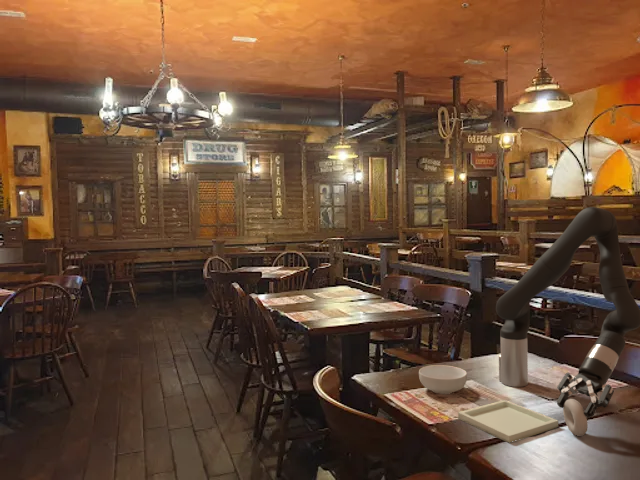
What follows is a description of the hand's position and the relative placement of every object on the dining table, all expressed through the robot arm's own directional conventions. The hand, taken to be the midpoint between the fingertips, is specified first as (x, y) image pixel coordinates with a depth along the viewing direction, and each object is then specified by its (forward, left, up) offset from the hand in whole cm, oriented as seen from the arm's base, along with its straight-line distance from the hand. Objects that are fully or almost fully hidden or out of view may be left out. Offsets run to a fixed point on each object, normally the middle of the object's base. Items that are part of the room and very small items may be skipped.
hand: (572, 411), depth 142 cm
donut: (0, +2, -7) cm, 7 cm away
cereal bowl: (-48, -5, -7) cm, 49 cm away
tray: (-16, -8, -7) cm, 19 cm away
